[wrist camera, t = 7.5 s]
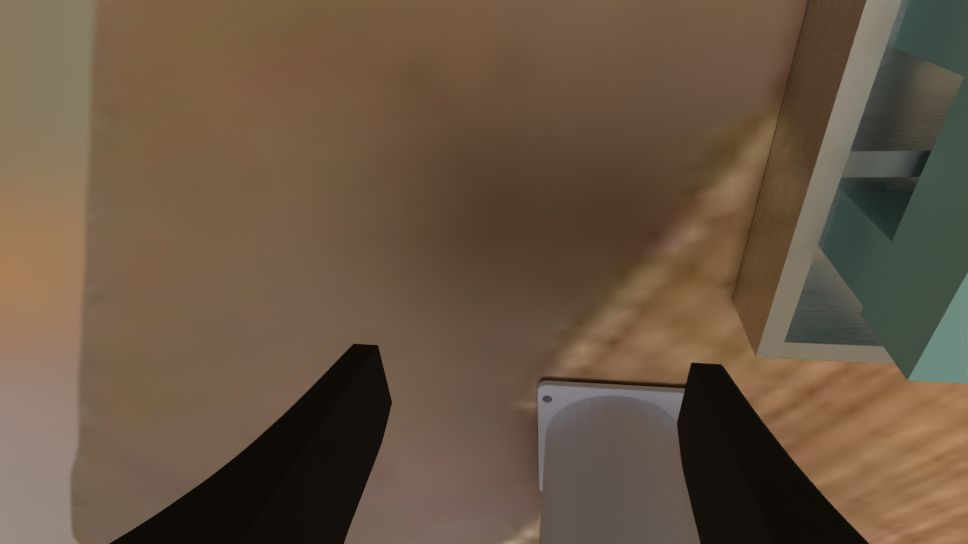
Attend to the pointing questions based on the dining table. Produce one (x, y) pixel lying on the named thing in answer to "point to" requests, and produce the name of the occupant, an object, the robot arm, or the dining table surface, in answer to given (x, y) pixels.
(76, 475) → the dining table surface
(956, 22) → the clip
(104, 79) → the dining table surface
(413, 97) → the dining table surface
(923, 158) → the cabinet frame
